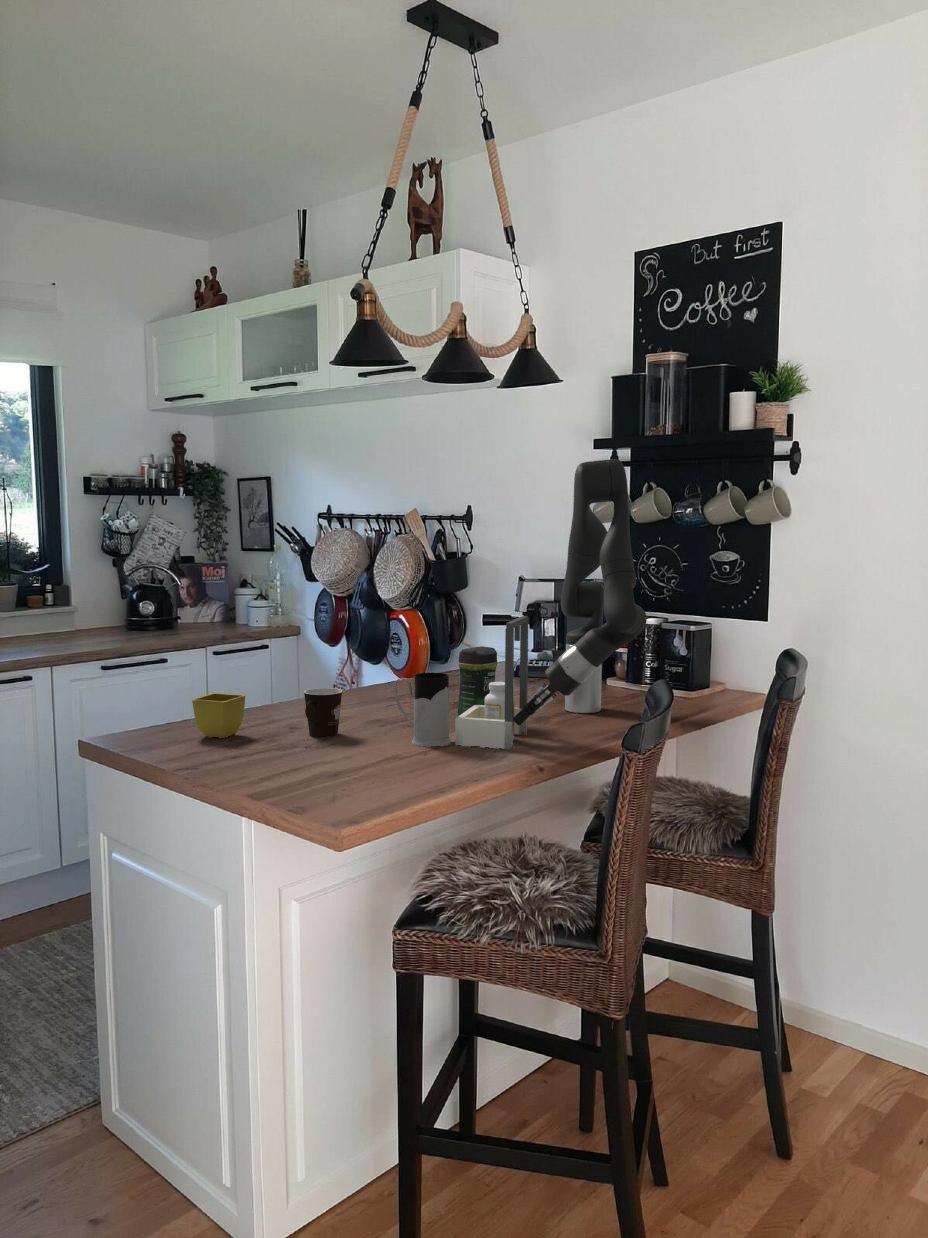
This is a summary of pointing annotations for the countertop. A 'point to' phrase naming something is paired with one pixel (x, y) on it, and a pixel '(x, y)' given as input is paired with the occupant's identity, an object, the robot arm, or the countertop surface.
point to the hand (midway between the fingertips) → (516, 722)
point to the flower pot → (219, 714)
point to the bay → (500, 732)
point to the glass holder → (429, 709)
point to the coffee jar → (475, 676)
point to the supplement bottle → (496, 702)
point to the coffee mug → (323, 711)
